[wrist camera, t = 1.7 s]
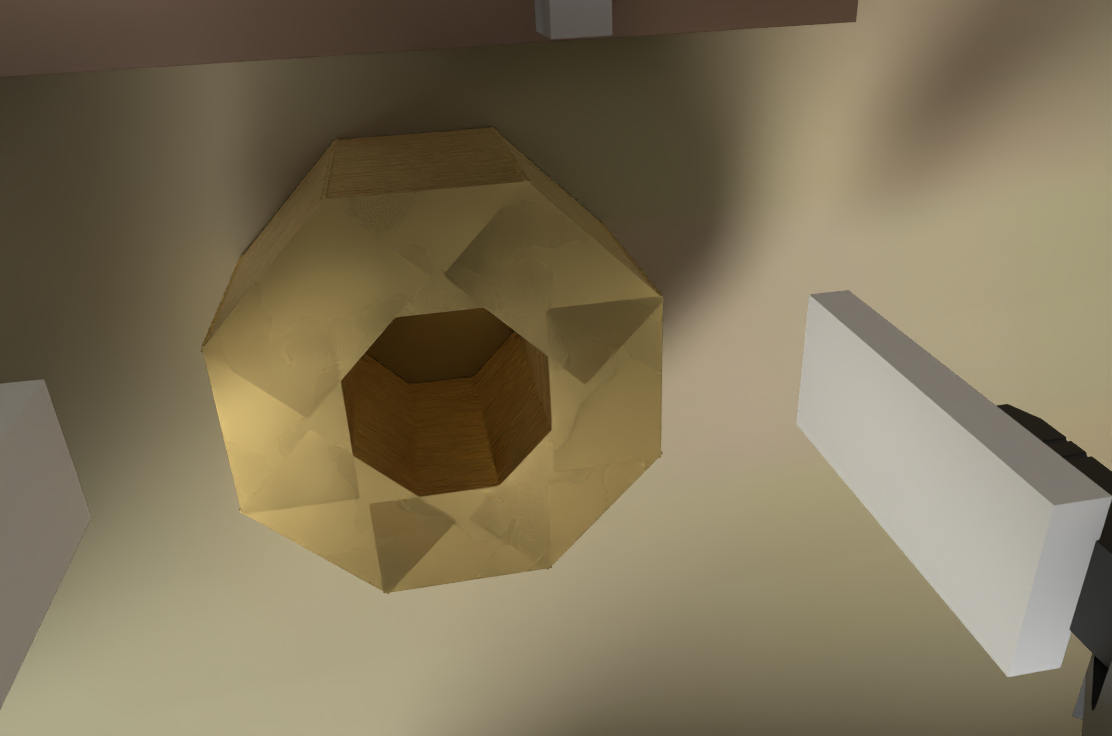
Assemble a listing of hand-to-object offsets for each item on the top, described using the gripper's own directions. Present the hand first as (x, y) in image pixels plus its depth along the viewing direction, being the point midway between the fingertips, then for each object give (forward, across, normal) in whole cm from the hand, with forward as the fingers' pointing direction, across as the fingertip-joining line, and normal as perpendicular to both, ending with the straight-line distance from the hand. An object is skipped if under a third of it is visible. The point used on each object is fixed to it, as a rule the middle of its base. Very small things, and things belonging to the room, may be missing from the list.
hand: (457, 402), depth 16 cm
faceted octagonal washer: (+6, 0, +1) cm, 6 cm away
